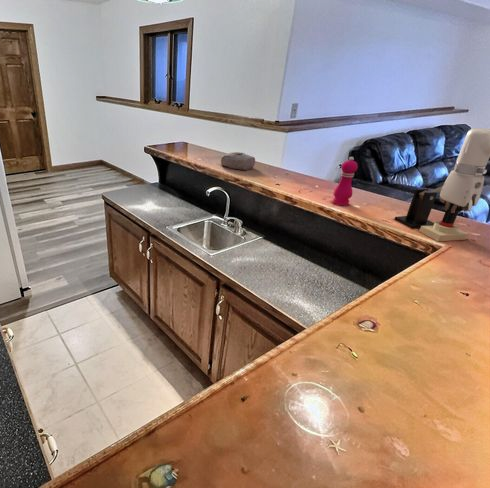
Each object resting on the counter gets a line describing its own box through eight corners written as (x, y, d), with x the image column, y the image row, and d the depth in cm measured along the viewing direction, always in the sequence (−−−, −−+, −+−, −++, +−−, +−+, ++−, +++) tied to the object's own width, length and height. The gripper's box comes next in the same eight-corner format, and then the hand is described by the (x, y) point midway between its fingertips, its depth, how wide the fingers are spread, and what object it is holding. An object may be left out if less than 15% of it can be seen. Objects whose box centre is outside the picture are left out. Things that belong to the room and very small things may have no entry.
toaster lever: (452, 182, 129) (452, 176, 127) (464, 186, 124) (464, 180, 123) (415, 197, 129) (415, 191, 128) (426, 202, 125) (426, 196, 124)
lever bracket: (417, 218, 136) (428, 186, 130) (436, 227, 128) (449, 194, 122) (394, 219, 135) (404, 187, 129) (412, 228, 127) (424, 195, 121)
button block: (445, 230, 126) (450, 219, 124) (466, 239, 119) (470, 228, 117) (418, 231, 124) (422, 221, 123) (437, 241, 117) (442, 230, 116)
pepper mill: (337, 199, 155) (348, 154, 146) (353, 204, 149) (365, 157, 140) (327, 202, 151) (338, 156, 142) (343, 207, 146) (355, 159, 137)
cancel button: (445, 224, 122) (447, 219, 121) (454, 228, 119) (456, 224, 118) (436, 225, 122) (438, 220, 121) (445, 229, 118) (447, 224, 118)
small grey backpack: (257, 167, 205) (228, 161, 217) (259, 153, 201) (230, 148, 214) (243, 172, 195) (214, 165, 207) (245, 157, 191) (215, 151, 204)
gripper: (502, 175, 105) (477, 230, 113) (457, 163, 118) (438, 213, 127) (480, 175, 104) (457, 231, 112) (438, 164, 117) (420, 215, 126)
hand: (447, 222), depth 119 cm, fingers closed
